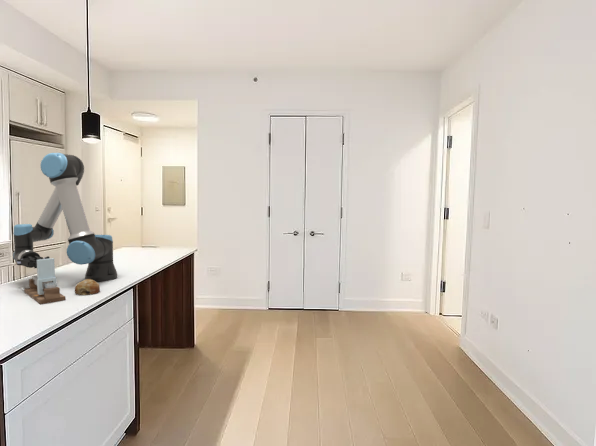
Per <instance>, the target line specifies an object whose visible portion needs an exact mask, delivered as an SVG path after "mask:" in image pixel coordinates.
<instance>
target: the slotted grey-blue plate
mask: <svg viewBox="0 0 596 446" xmlns="http://www.w3.org/2000/svg"><path fill="white" fill-rule="evenodd" d="M49 258H50V257H49ZM36 273H37V274H36V276H37V291H38V294H39V295H43V294H44V290H43V287H42V282H48V281H51V282H53V283H54V284H56V287H58V286H57V284H58V283H57V277H56V268H55V258H53V257H51V258H50V259H40V260H37V268H36Z"/></svg>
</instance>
